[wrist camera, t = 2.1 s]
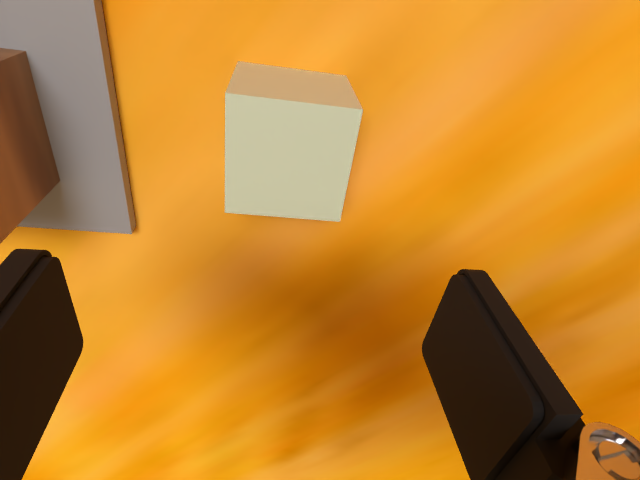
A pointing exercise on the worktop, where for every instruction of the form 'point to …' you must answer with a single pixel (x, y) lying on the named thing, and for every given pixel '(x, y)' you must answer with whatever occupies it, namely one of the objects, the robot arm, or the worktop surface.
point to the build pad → (74, 112)
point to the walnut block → (21, 143)
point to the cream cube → (288, 142)
